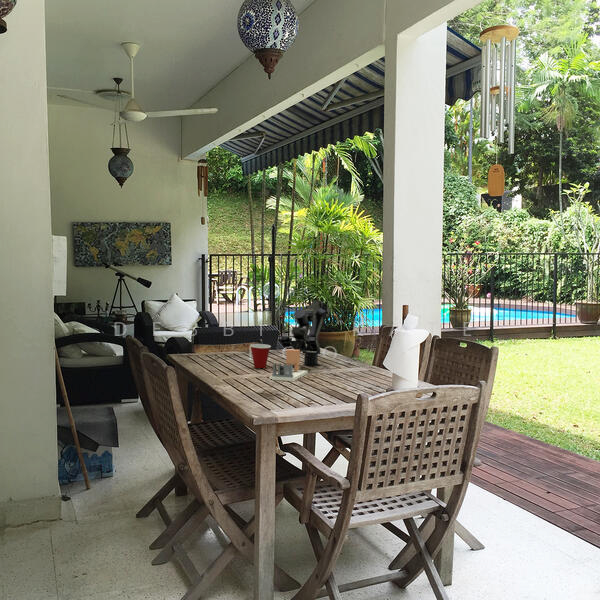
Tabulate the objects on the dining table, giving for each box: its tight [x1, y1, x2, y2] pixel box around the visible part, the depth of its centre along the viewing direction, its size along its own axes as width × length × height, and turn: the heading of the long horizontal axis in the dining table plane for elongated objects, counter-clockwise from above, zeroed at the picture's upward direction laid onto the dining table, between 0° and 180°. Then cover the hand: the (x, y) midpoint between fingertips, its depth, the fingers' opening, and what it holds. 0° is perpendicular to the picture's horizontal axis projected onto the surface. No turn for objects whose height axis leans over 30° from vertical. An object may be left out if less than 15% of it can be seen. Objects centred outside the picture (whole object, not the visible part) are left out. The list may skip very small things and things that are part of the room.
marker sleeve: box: [285, 348, 301, 371], centre depth 313 cm, size 3×6×10 cm, turn 71°
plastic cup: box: [249, 343, 272, 369], centre depth 332 cm, size 11×11×12 cm
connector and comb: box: [271, 362, 293, 378], centre depth 302 cm, size 6×10×6 cm, turn 71°
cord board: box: [269, 369, 309, 382], centre depth 308 cm, size 20×12×2 cm, turn 161°
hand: (295, 355), depth 316 cm, fingers closed
